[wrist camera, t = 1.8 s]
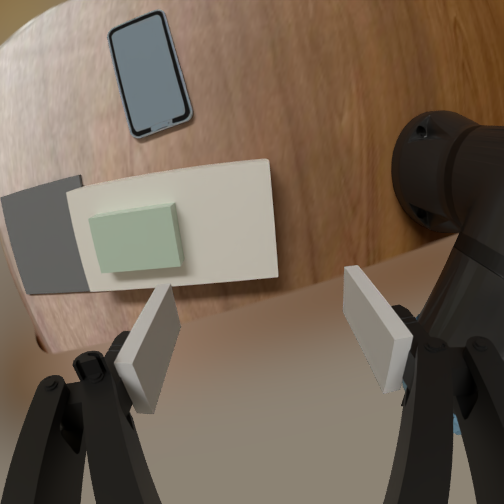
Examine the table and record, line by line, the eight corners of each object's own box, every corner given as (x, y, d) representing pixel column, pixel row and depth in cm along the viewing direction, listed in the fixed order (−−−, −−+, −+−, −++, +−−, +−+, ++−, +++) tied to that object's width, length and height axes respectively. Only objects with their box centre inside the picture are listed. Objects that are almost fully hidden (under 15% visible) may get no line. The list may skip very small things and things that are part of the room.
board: (266, 158, 32) (269, 160, 29) (275, 262, 36) (278, 277, 33) (82, 186, 33) (65, 192, 29) (103, 278, 37) (90, 291, 33)
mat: (80, 174, 32) (78, 175, 32) (106, 288, 37) (104, 290, 37) (2, 196, 33) (0, 197, 32) (28, 292, 38) (26, 294, 37)
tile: (175, 202, 30) (170, 206, 28) (184, 258, 32) (180, 266, 30) (96, 214, 30) (88, 218, 28) (108, 266, 32) (101, 273, 30)
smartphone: (163, 6, 25) (194, 118, 30) (165, 9, 26) (196, 118, 31) (105, 31, 26) (132, 141, 31) (108, 33, 27) (135, 141, 32)
